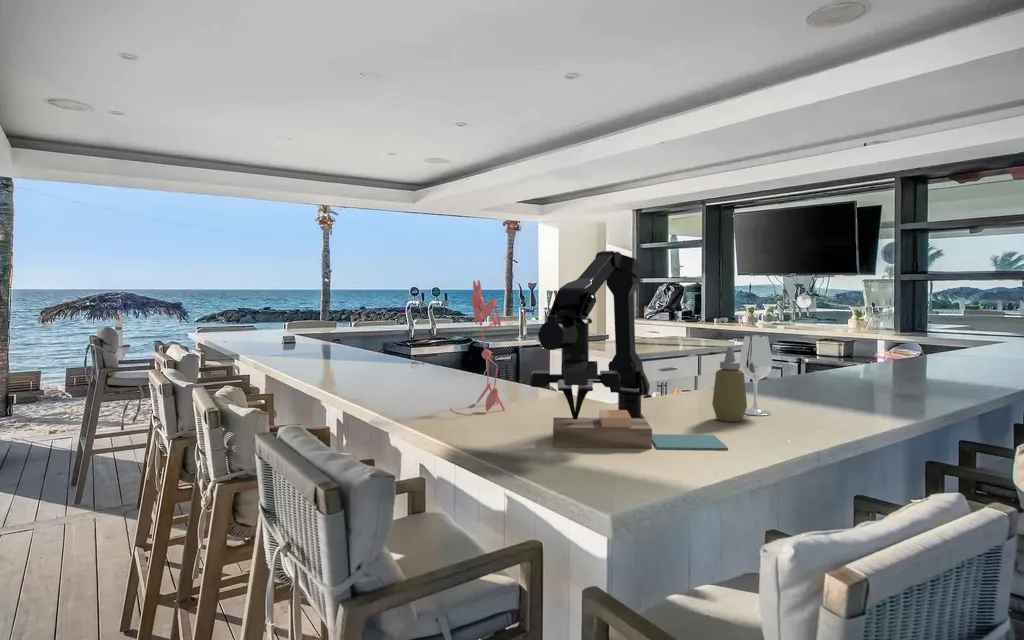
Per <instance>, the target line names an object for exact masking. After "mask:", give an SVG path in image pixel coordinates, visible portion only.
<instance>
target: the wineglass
mask: <svg viewBox="0 0 1024 640" xmlns="http://www.w3.org/2000/svg"><path fill="white" fill-rule="evenodd" d="M772 355H773V354H772V350H771V345H770V340H769V336H768V335H761V334H759V335H758V334H757V335H755V334H750V335H749V334H748V335H747V334H746V335H744V338H743V342H742V346H741V349H740V357H739V362H740V371H742V372H743V373H744V376H746V377H747V378H748V379H750V380H752V382H753V405H752V406H751V407H750V408H746V411H745V413H744V415H748V416H755V415H756V416H761V417H763V416H764V415H765V416H769V415H771V414H772V412H771V411H769V410H765V409H761V408H760V407H758V401H757V400H758V399H757V397H758V383H759V381H760V380H763V379H764V378H765V377H767V376H768V375H769V374H770V373H771V371H772V368H773V357H772Z"/></svg>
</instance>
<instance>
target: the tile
mask: <svg viewBox="0 0 1024 640" xmlns="http://www.w3.org/2000/svg"><path fill="white" fill-rule="evenodd" d="M598 413H599V414H598V416H599V417H598V418H599V420H600V423H601V426H602V427H627V428H631V416H630V414H629V413H628V411H627V410H618V409H599V411H598Z"/></svg>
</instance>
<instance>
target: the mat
mask: <svg viewBox="0 0 1024 640" xmlns="http://www.w3.org/2000/svg"><path fill="white" fill-rule="evenodd" d="M652 444H653V445H654V446H655V448H656V449H657V450H689V451H691V450H695V451H696V450H699V451H700V450H701V451H702V450H703V451H705V450H707V451H709V450H710V451H729V447H728V446H727V445H726V444H724V443H723V442H722V441H721V439H720V438H718V437H717V436H716V435H715V434H676V433H675V434H670V433H669V434H668V433H667V434H664V433H662V434H661V433H659V434H656V433H655V434H654V433H652Z"/></svg>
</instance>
